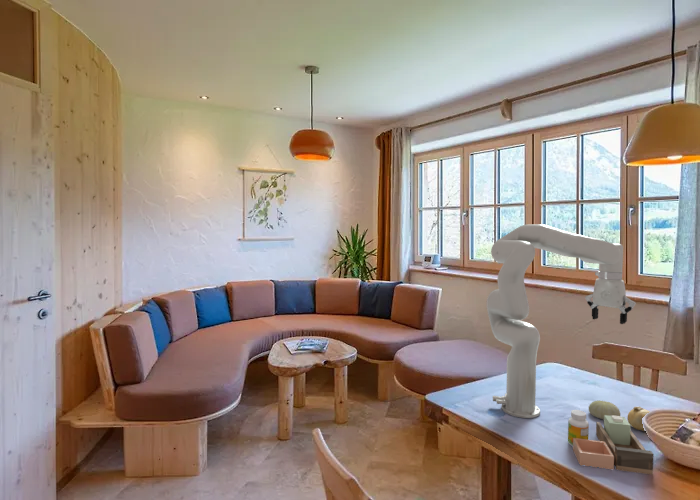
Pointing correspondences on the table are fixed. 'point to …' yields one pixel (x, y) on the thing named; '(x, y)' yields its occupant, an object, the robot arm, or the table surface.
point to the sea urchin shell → (603, 409)
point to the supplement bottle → (577, 426)
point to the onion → (637, 417)
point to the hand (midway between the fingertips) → (608, 321)
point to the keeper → (617, 429)
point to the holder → (593, 453)
